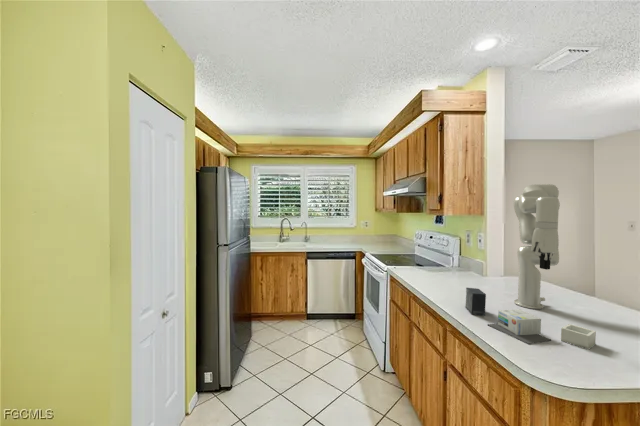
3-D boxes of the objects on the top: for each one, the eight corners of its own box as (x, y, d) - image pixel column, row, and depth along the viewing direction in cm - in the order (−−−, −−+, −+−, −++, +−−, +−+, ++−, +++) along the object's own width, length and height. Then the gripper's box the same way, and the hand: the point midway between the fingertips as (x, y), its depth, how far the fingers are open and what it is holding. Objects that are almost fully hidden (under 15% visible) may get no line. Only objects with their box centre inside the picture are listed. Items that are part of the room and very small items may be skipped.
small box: (486, 316, 137) (486, 294, 136) (471, 314, 138) (472, 293, 138) (478, 308, 147) (479, 288, 147) (464, 307, 148) (465, 287, 148)
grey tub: (568, 336, 116) (569, 323, 116) (595, 344, 110) (595, 331, 110) (561, 340, 112) (561, 328, 112) (588, 349, 105) (588, 336, 105)
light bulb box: (519, 323, 127) (497, 325, 125) (520, 308, 127) (497, 309, 125) (541, 334, 116) (517, 336, 115) (541, 318, 116) (517, 319, 115)
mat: (508, 322, 129) (508, 321, 129) (551, 340, 112) (551, 339, 112) (487, 325, 126) (487, 324, 126) (528, 344, 109) (528, 343, 109)
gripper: (549, 225, 128) (547, 265, 129) (524, 225, 124) (523, 267, 124) (568, 226, 121) (566, 269, 122) (542, 227, 117) (541, 272, 117)
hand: (544, 268), depth 123 cm, fingers closed
